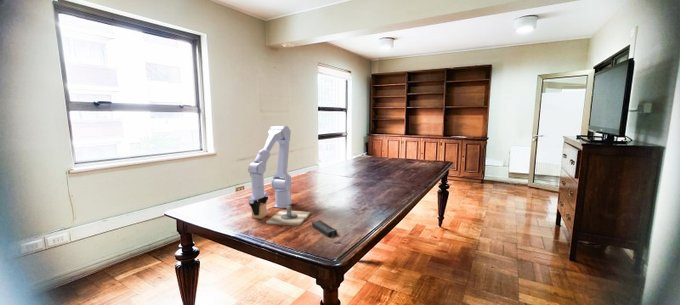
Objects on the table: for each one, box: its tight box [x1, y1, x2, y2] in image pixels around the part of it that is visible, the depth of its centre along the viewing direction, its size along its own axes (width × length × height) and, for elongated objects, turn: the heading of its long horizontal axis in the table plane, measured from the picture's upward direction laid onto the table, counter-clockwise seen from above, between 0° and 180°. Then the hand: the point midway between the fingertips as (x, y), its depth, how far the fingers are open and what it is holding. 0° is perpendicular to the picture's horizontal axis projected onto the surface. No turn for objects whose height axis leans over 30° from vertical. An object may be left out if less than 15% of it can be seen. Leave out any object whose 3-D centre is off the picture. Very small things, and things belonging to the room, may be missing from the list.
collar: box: [251, 202, 268, 220], centre depth 142 cm, size 5×5×6 cm
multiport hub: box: [311, 220, 338, 238], centre depth 123 cm, size 4×14×2 cm, turn 33°
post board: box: [266, 205, 311, 227], centre depth 138 cm, size 16×16×6 cm
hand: (259, 213), depth 142 cm, fingers closed on collar, 5 cm apart
